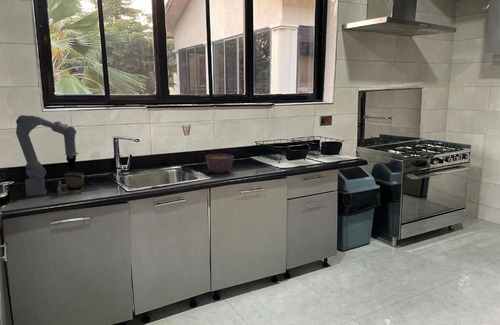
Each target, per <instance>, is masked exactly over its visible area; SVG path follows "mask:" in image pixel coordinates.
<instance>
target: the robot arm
mask: <svg viewBox="0 0 500 325" xmlns="http://www.w3.org/2000/svg"><path fill="white" fill-rule="evenodd" d="M15 124H16V131H15V134H16V137H17V140H18V142H19V145H20V148H21V150H22V152H23V156H24V159H25V161H26V164H25V165H24V166H25V174H26V176H28V178H26V179H25V181H24V182H25V183H24V184H25V193H26V197H32V196H42V195H47V192H48V191H47V189H46V184H45V177H46V175H47V170H46V169H45V167H43V163H41V162H40V161H39V160H38V157H37V154H36V151H35V148H34V146H33V141H31V138H30V133H31V131H32V130H34V129H35V128H36V127H37V126H43V127H47V128H49V129H51V131H53V132H56V133H58V134H61V135H62V136H63V137H64V138H63V140H64V150H65V154H64V155H65V156H66V158H65V160H66V161H67V163H68V166H69V169H70V170H75V168H76V166H75V164H76V160H77V155H79V152H77V150H76V139H75V138H76V134H77V130H76V129H75V127H73V126H69V125H68V124H64V123H62V122H61V121H54V122H52V121H50V120H48V119H45V118H43V117H40V116H35V115H25V114H23V115H22V114H21V115H19V116H18V117H17V119H16V120H15Z"/></svg>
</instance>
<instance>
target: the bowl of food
mask: <svg viewBox="0 0 500 325" xmlns="http://www.w3.org/2000/svg"><path fill="white" fill-rule="evenodd" d="M204 156H205V161H206V165H207V168H208V169H209V171H211V172H213V173H214V172H215V173H214V174H219V173H220V174H224V173H223V172H225V173H227V172H229V171H230V170H231V168H232V165H233V162H234V157H235V156H234V155H233V154H229V153H213V154H206V155H204Z"/></svg>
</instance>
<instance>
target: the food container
mask: <svg viewBox="0 0 500 325" xmlns="http://www.w3.org/2000/svg"><path fill="white" fill-rule="evenodd" d="M63 177H64V178H65V184H67V188H66V189H67V191H76V190H81V193H82V192H83V191H84V187H85V186H84V180H85V179H84V178H85V174H84V172H79V171H76V172H75V171H74V172H67V173H64V176H63Z"/></svg>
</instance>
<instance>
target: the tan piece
mask: <svg viewBox="0 0 500 325" xmlns="http://www.w3.org/2000/svg"><path fill="white" fill-rule="evenodd" d="M62 189H67V184H66V183H65V184H62V180H61V179H60V180H58V183H57V189H56V192H57V198H61V196H71V195H79V194H82V192H81V190H76V191H68V190H67V191H62Z"/></svg>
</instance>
